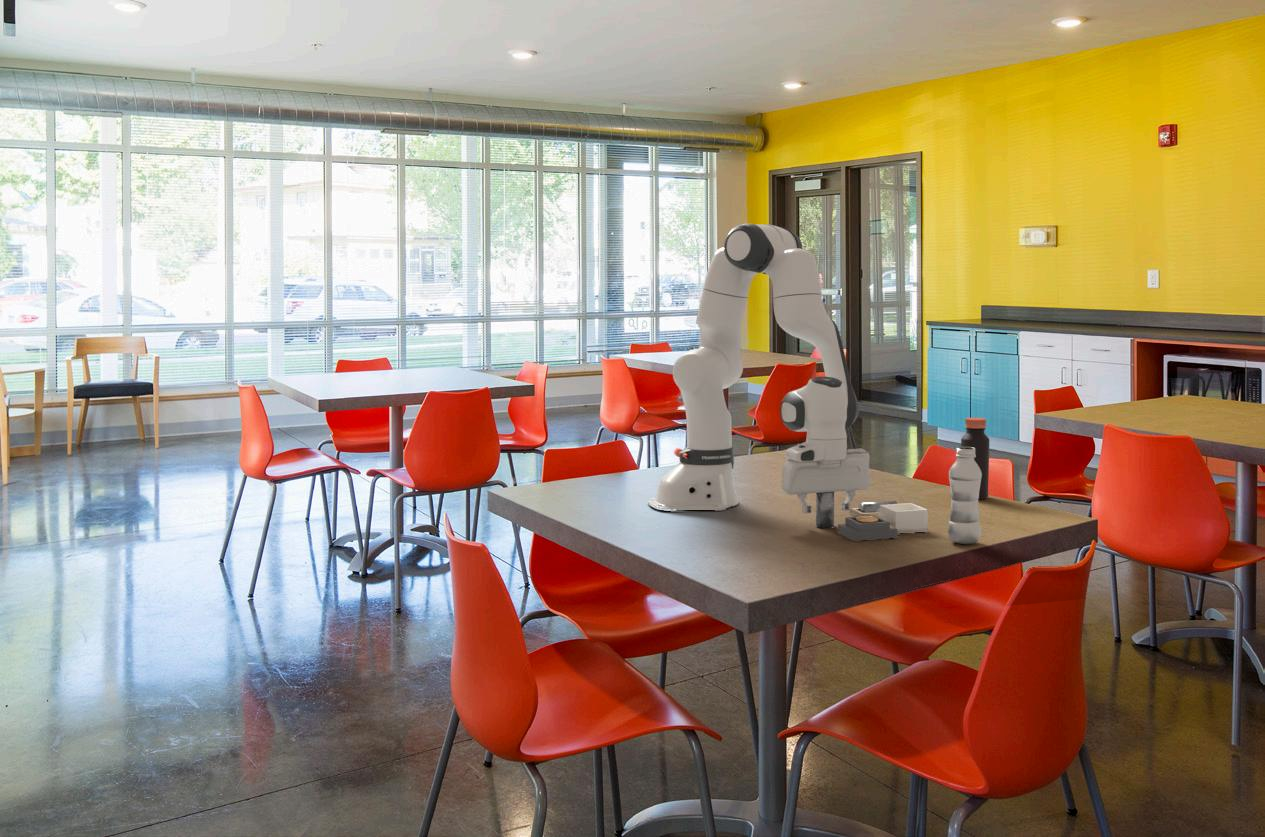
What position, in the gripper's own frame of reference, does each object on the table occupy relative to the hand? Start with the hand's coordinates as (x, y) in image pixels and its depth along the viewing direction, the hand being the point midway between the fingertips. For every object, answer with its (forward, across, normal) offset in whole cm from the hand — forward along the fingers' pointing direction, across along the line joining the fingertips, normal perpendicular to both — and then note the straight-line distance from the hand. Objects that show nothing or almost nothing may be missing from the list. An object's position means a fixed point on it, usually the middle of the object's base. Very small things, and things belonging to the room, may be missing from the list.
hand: (826, 511), depth 237 cm
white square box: (+4, -15, +8) cm, 17 cm away
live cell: (+3, -13, 0) cm, 13 cm away
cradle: (+3, -5, +11) cm, 12 cm away
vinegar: (+4, -48, -19) cm, 52 cm away
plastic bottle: (+4, -20, +23) cm, 31 cm away
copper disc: (0, -5, +11) cm, 12 cm away
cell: (+3, 0, 0) cm, 3 cm away
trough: (+3, -13, 0) cm, 13 cm away
